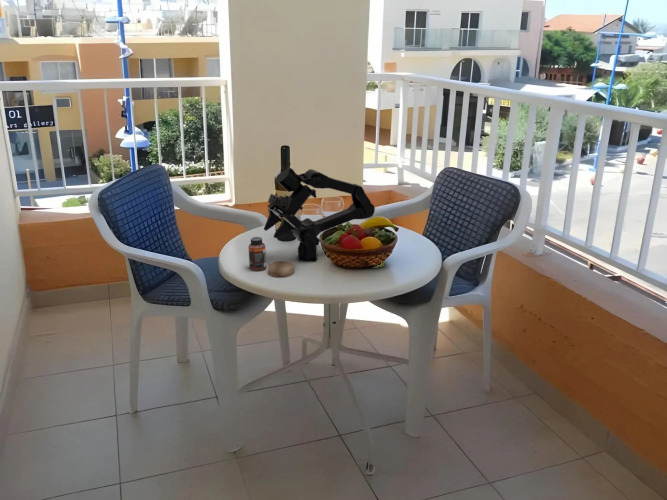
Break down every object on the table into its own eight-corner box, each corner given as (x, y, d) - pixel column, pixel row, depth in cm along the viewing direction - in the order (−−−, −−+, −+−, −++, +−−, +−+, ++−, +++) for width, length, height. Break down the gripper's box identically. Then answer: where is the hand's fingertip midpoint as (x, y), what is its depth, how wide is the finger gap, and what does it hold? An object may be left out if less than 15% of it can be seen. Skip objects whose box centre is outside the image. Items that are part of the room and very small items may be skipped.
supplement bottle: (269, 268, 207) (268, 238, 203) (256, 272, 203) (254, 242, 199) (259, 263, 211) (258, 234, 207) (246, 268, 207) (244, 238, 204)
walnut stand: (295, 267, 207) (295, 261, 206) (292, 277, 199) (292, 271, 198) (271, 267, 208) (270, 260, 207) (266, 277, 200) (266, 270, 199)
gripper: (271, 180, 209) (244, 213, 209) (292, 191, 194) (263, 228, 193) (292, 198, 216) (265, 231, 215) (313, 211, 200) (285, 246, 199)
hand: (269, 233), depth 205 cm, fingers open, 9 cm apart
